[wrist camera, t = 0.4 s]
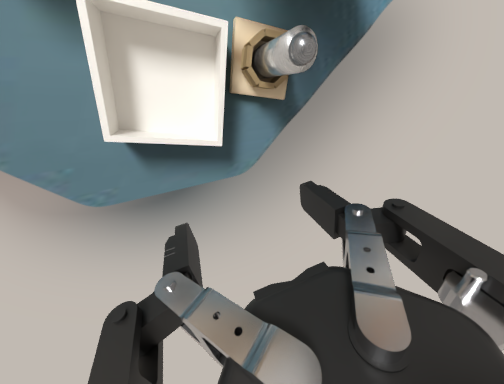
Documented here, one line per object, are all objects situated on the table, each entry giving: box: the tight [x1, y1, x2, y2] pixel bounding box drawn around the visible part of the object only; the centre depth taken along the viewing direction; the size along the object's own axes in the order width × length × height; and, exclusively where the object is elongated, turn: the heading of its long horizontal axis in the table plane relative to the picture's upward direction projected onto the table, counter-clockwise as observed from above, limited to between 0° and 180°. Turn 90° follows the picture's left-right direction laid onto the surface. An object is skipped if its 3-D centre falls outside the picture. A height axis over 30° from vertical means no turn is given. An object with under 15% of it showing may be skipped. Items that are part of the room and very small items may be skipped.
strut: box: [251, 25, 318, 79], centre depth 27 cm, size 5×5×14 cm
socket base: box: [229, 17, 289, 100], centre depth 32 cm, size 10×10×4 cm
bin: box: [76, 0, 228, 146], centre depth 28 cm, size 16×16×6 cm
